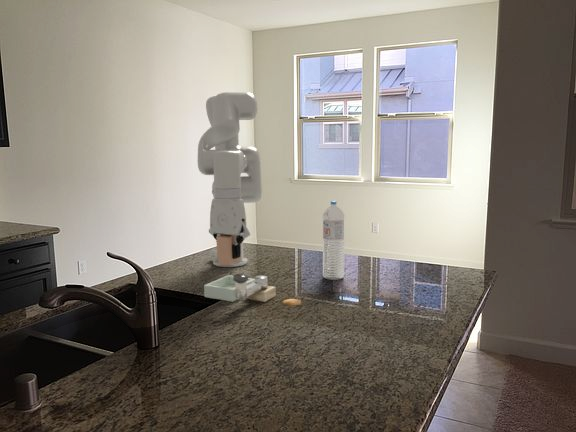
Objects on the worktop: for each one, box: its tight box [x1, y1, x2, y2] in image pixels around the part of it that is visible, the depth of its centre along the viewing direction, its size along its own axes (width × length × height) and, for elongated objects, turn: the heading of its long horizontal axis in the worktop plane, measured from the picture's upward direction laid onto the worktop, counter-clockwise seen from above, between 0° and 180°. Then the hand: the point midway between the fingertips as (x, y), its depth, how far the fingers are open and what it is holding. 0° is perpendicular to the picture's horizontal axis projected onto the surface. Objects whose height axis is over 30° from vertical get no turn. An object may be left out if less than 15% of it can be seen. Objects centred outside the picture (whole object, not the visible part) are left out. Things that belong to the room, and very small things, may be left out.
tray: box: [203, 274, 255, 303], centre depth 144 cm, size 10×12×4 cm
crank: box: [233, 273, 269, 300], centre depth 135 cm, size 14×4×6 cm, turn 151°
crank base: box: [246, 285, 302, 307], centre depth 138 cm, size 16×6×3 cm, turn 61°
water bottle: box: [322, 200, 345, 281], centre depth 158 cm, size 7×7×25 cm
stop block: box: [215, 234, 241, 265], centre depth 142 cm, size 4×6×8 cm, turn 151°
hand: (229, 256), depth 143 cm, fingers closed on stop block, 4 cm apart
